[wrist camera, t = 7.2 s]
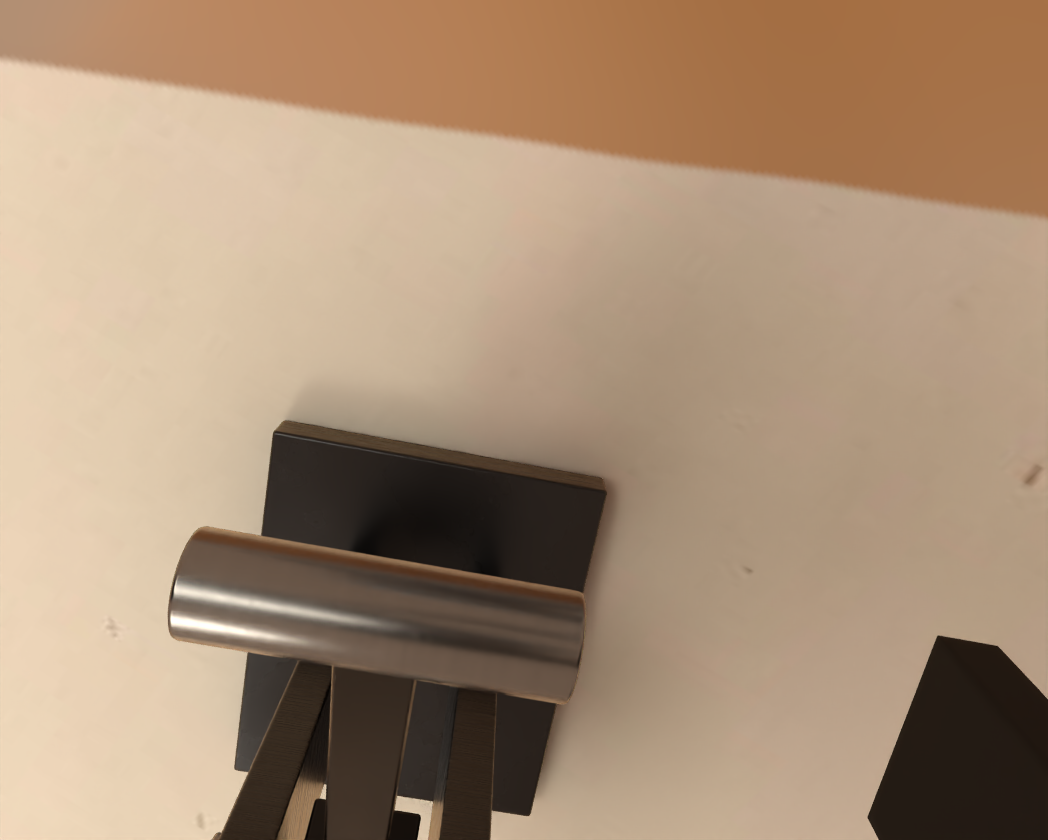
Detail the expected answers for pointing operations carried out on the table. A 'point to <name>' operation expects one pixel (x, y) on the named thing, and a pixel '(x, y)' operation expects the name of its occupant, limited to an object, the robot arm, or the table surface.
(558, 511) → the bracket
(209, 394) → the table surface
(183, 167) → the table surface
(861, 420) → the table surface
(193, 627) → the lever
